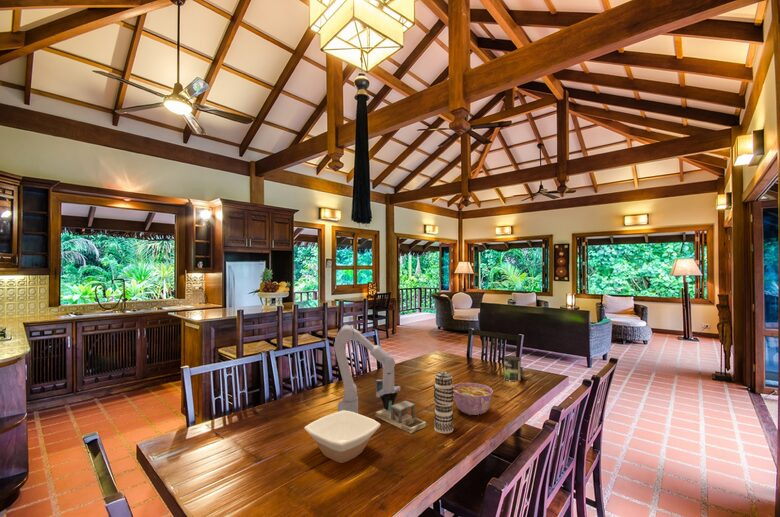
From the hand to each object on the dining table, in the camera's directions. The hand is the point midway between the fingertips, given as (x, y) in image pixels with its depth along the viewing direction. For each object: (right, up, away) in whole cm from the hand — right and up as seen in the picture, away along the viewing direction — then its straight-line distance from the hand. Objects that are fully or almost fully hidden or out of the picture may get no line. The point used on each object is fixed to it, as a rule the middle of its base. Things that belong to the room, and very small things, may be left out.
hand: (388, 408), depth 172 cm
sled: (+4, -1, -4) cm, 6 cm away
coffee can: (+80, -5, +56) cm, 98 cm away
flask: (-3, -5, +25) cm, 26 cm away
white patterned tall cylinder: (+25, -4, -14) cm, 29 cm away
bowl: (-18, -3, -34) cm, 38 cm away
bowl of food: (+42, -4, +4) cm, 43 cm away
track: (+6, -3, -6) cm, 9 cm away
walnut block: (+5, -1, -6) cm, 8 cm away
